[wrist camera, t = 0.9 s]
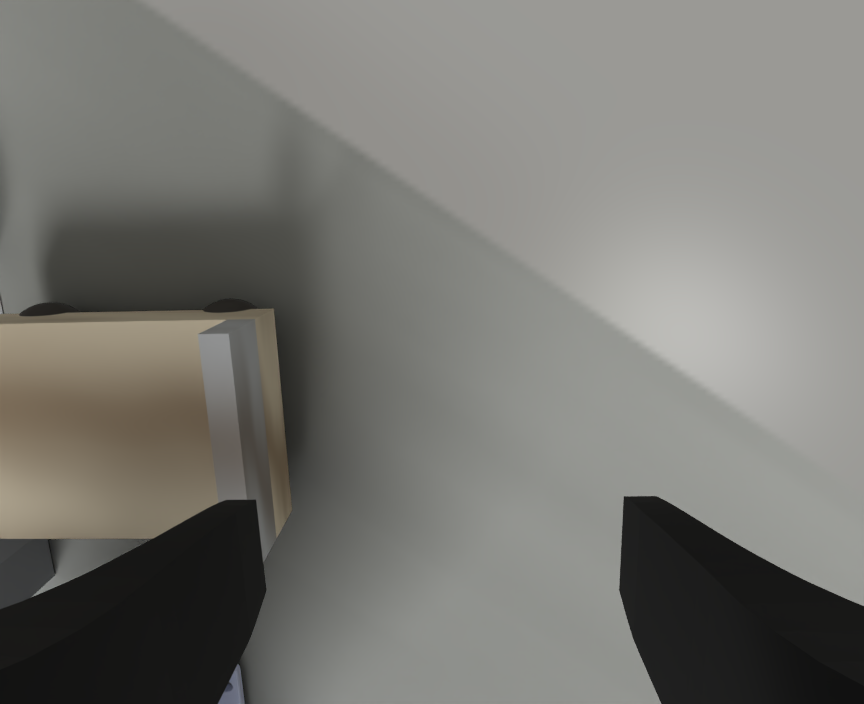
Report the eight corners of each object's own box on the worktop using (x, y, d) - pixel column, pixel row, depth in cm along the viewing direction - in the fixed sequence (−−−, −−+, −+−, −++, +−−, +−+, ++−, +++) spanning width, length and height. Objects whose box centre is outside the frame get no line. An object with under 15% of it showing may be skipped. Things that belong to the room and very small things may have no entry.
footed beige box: (303, 498, 22) (256, 586, 17) (65, 500, 22) (-49, 585, 17) (285, 292, 20) (227, 321, 15) (27, 298, 21) (-113, 328, 16)
